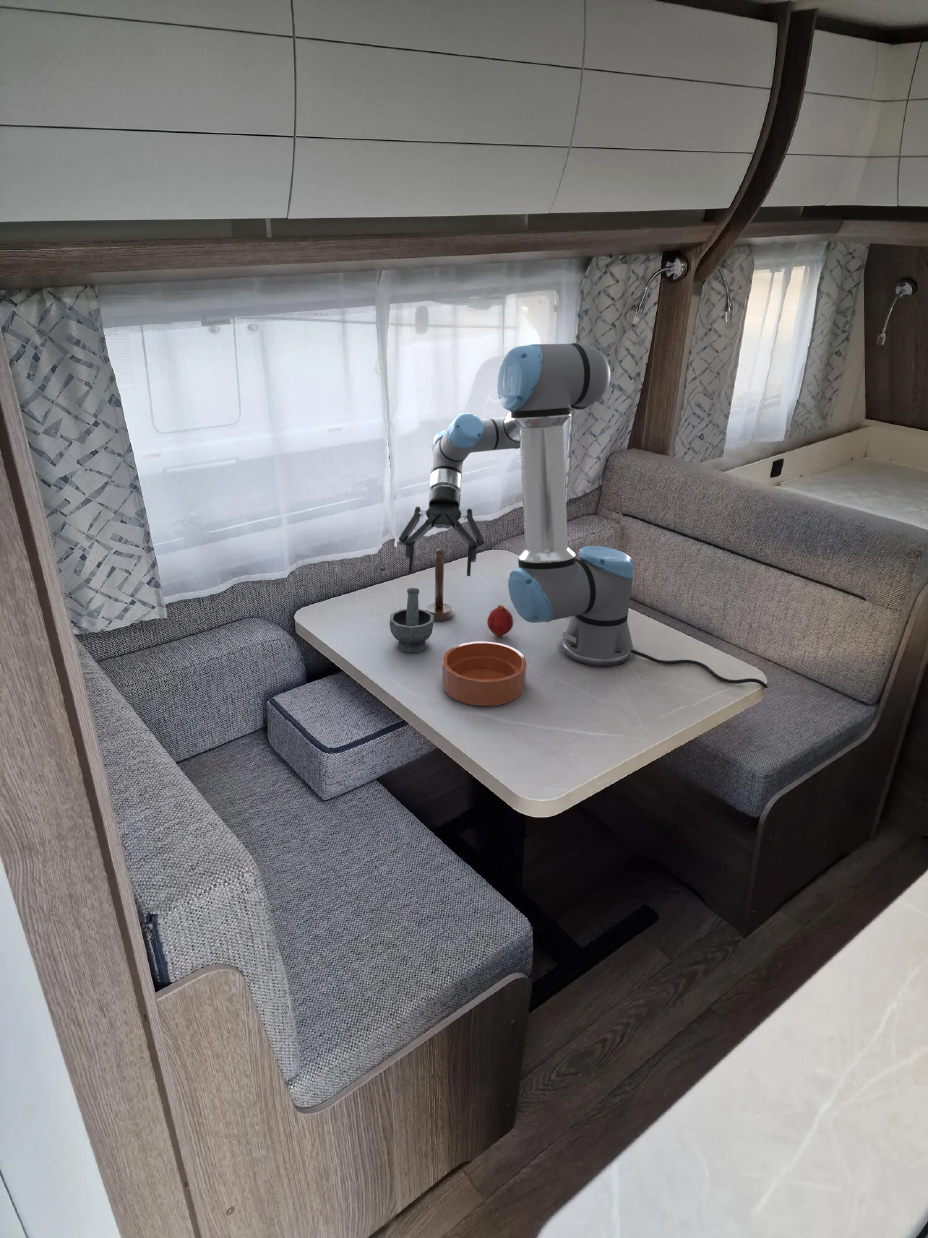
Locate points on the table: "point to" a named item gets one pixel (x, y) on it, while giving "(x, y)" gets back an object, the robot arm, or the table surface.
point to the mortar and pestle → (411, 624)
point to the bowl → (484, 673)
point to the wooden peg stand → (439, 591)
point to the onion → (500, 621)
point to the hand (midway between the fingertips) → (439, 573)
